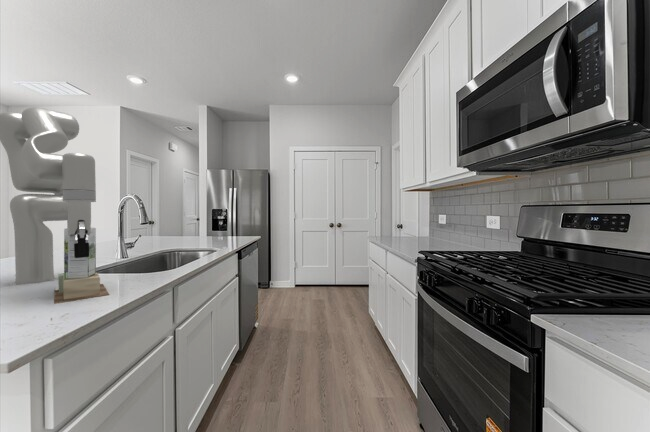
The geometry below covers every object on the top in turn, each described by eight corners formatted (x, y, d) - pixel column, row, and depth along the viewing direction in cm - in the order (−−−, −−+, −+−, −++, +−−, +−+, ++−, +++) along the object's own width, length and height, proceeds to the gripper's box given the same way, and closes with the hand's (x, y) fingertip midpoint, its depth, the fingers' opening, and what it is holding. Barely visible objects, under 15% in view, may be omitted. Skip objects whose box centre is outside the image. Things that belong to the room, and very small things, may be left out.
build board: (54, 294, 93) (54, 290, 93) (102, 288, 101) (102, 283, 101) (54, 309, 79) (53, 303, 79) (109, 300, 87) (109, 294, 87)
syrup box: (73, 275, 90) (72, 227, 90) (96, 274, 92) (96, 226, 92) (63, 279, 85) (62, 228, 84) (88, 278, 87) (87, 227, 86)
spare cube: (58, 289, 93) (58, 273, 93) (79, 286, 96) (79, 271, 96) (58, 293, 89) (58, 276, 89) (80, 290, 92) (80, 273, 92)
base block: (63, 293, 89) (62, 276, 89) (97, 288, 94) (96, 272, 94) (63, 299, 83) (63, 281, 83) (100, 294, 88) (99, 277, 88)
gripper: (62, 197, 92) (63, 253, 92) (63, 195, 79) (64, 260, 79) (93, 198, 97) (94, 251, 97) (98, 196, 84) (99, 257, 84)
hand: (80, 255), depth 88 cm, fingers open, 9 cm apart
